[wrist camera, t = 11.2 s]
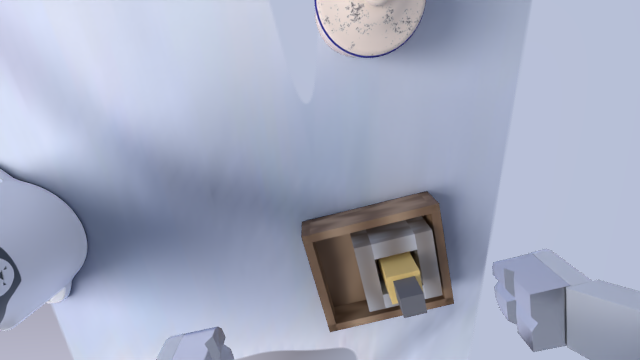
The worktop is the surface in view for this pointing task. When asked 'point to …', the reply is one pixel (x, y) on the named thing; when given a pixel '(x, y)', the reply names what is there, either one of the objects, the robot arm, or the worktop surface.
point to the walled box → (375, 257)
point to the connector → (403, 283)
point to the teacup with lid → (367, 25)
